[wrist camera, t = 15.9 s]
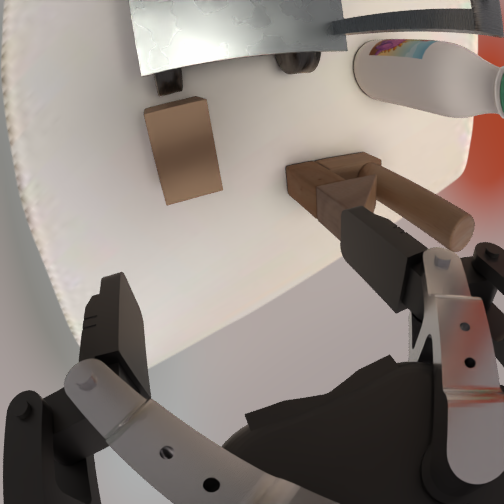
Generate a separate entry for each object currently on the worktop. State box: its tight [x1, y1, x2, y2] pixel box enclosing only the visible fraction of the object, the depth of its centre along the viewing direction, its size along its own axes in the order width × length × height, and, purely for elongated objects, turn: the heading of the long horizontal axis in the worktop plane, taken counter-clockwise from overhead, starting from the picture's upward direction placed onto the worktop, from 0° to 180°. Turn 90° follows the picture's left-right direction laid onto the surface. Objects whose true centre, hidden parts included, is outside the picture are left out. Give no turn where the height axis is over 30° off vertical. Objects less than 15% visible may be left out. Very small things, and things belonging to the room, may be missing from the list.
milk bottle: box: [354, 39, 504, 118], centre depth 23 cm, size 8×8×20 cm
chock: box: [144, 96, 223, 205], centre depth 27 cm, size 8×5×6 cm, turn 9°
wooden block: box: [286, 152, 475, 252], centre depth 29 cm, size 4×11×18 cm, turn 98°
